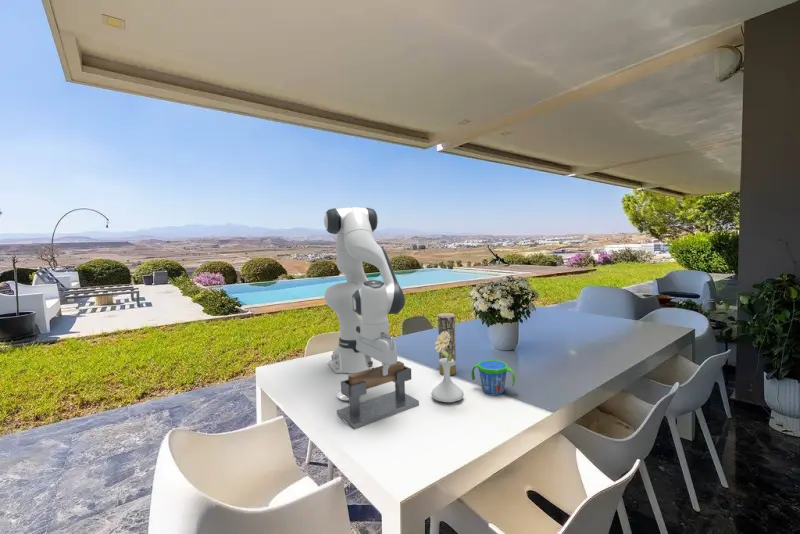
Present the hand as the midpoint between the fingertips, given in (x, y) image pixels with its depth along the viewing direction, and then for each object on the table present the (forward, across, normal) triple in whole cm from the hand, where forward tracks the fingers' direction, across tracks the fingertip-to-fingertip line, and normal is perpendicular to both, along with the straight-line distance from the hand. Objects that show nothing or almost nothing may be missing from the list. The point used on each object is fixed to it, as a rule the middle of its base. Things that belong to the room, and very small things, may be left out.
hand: (376, 370), depth 121 cm
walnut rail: (+4, 0, 0) cm, 4 cm away
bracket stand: (+13, 0, 0) cm, 13 cm away
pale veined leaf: (+14, +15, +3) cm, 21 cm away
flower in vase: (+13, -9, -23) cm, 28 cm away
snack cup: (+13, -15, -40) cm, 45 cm away
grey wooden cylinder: (+14, +9, -40) cm, 43 cm away
